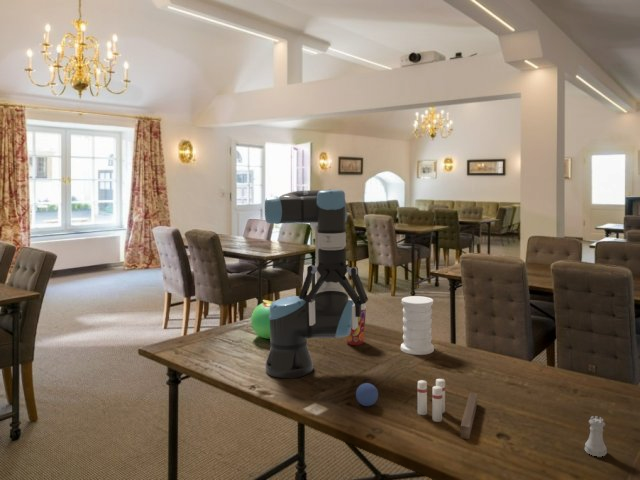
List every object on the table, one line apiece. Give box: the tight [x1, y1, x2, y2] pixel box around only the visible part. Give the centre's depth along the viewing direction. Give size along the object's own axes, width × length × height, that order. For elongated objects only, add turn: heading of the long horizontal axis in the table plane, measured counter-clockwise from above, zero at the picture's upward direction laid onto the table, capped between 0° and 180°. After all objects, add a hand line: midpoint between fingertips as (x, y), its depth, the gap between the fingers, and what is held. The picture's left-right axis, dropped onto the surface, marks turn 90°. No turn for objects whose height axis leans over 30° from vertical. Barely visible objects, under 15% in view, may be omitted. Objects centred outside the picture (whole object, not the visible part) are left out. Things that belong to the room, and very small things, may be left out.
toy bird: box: [250, 299, 275, 340], centre depth 206 cm, size 18×17×15 cm
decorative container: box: [400, 295, 435, 356], centre depth 189 cm, size 12×12×18 cm
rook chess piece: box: [584, 415, 608, 458], centre depth 119 cm, size 4×4×8 cm
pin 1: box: [435, 378, 446, 414], centre depth 141 cm, size 2×2×8 cm
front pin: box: [416, 379, 428, 416], centre depth 140 cm, size 2×2×8 cm
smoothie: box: [345, 297, 367, 346], centre depth 197 cm, size 8×8×20 cm
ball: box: [355, 382, 379, 407], centre depth 146 cm, size 6×6×6 cm
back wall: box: [460, 392, 478, 440], centre depth 136 cm, size 2×20×3 cm, turn 159°
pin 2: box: [431, 385, 443, 423], centre depth 137 cm, size 2×2×8 cm
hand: (333, 326), depth 147 cm, fingers open, 12 cm apart
